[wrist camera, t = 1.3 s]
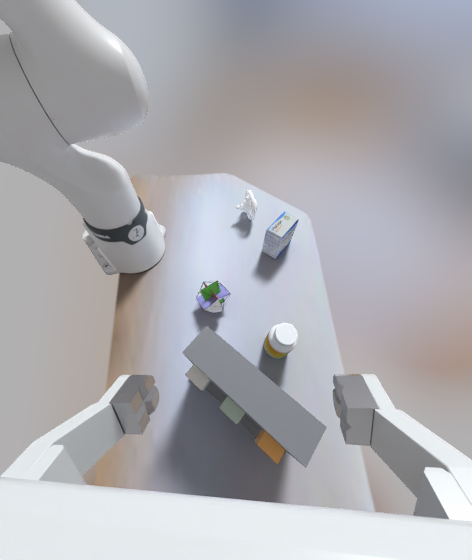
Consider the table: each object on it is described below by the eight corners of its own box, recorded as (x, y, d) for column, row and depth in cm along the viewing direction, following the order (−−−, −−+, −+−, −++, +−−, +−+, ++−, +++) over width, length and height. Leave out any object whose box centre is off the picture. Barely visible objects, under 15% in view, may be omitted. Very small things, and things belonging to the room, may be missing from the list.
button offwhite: (188, 377, 38) (184, 374, 35) (200, 362, 39) (198, 359, 36) (203, 391, 37) (200, 390, 34) (215, 376, 38) (214, 373, 35)
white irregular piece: (258, 225, 64) (262, 203, 57) (239, 228, 63) (240, 206, 56) (251, 205, 68) (253, 182, 61) (232, 208, 67) (233, 185, 60)
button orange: (254, 440, 34) (257, 444, 31) (266, 422, 35) (269, 424, 32) (273, 458, 33) (277, 464, 30) (284, 439, 34) (289, 443, 31)
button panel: (191, 373, 45) (174, 361, 31) (214, 346, 47) (209, 323, 33) (273, 452, 39) (298, 481, 25) (294, 416, 42) (328, 423, 28)
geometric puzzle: (188, 288, 51) (195, 292, 44) (213, 273, 53) (224, 275, 46) (203, 314, 53) (212, 322, 46) (227, 299, 55) (239, 304, 48)
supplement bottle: (276, 364, 46) (287, 356, 38) (258, 344, 48) (264, 331, 39) (293, 347, 48) (308, 335, 39) (275, 328, 50) (285, 313, 41)
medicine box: (275, 260, 59) (282, 238, 51) (261, 251, 60) (266, 229, 52) (290, 241, 62) (299, 219, 54) (277, 233, 63) (284, 210, 55)
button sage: (219, 407, 36) (218, 407, 33) (231, 391, 37) (231, 390, 34) (236, 423, 35) (236, 425, 32) (247, 406, 36) (249, 406, 33)
